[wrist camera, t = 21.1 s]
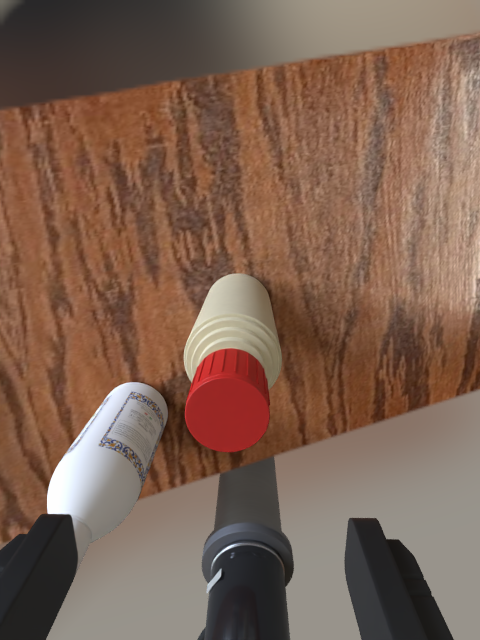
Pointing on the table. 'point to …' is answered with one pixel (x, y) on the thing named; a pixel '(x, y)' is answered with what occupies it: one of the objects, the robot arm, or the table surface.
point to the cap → (228, 401)
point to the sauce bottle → (236, 325)
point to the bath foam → (108, 463)
